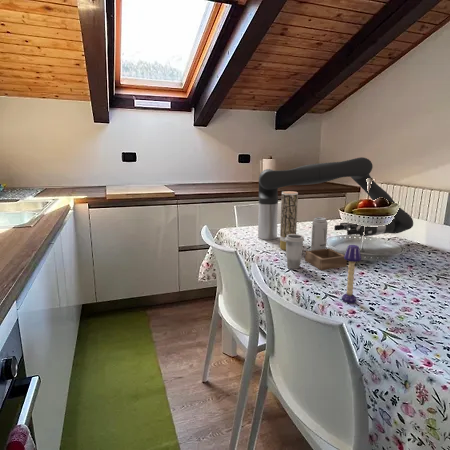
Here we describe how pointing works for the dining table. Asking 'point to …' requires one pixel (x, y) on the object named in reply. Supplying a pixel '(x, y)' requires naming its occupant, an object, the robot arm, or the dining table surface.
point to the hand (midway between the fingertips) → (341, 230)
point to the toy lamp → (351, 271)
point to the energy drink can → (319, 233)
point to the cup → (294, 250)
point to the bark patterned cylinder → (288, 216)
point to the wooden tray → (325, 259)
